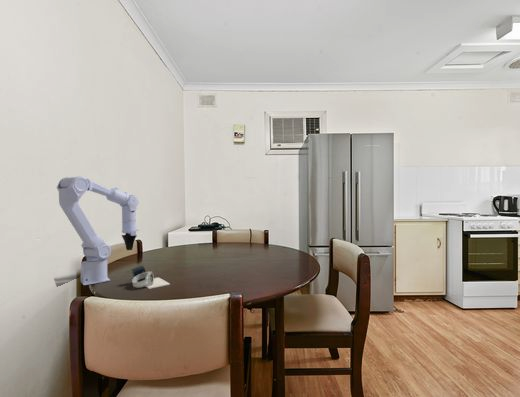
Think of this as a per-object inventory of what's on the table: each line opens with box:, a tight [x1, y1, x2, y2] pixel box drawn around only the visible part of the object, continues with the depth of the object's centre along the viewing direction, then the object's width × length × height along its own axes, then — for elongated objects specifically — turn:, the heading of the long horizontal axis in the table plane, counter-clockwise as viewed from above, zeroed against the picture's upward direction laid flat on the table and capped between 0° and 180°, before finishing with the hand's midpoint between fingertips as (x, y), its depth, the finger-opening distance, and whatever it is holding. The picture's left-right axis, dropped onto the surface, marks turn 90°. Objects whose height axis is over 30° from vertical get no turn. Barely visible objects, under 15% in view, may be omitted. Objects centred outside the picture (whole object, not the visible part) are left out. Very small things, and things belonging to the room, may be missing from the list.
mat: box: [141, 276, 171, 290], centre depth 111 cm, size 8×12×1 cm, turn 40°
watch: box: [131, 265, 155, 289], centre depth 109 cm, size 6×8×11 cm
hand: (129, 249), depth 129 cm, fingers closed
